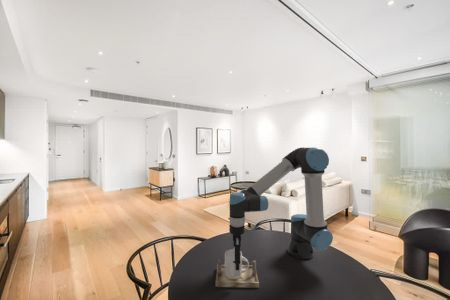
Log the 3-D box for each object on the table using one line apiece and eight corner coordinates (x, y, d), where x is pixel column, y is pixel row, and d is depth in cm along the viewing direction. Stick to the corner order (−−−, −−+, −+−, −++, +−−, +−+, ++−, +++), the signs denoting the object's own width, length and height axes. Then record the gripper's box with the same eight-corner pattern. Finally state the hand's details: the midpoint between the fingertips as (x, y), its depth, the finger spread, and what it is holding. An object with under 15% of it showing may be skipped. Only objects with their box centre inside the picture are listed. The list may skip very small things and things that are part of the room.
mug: (248, 281, 97) (248, 259, 96) (223, 279, 98) (223, 257, 98) (248, 270, 105) (249, 250, 105) (225, 268, 107) (225, 248, 106)
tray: (255, 269, 108) (255, 254, 108) (258, 287, 94) (259, 270, 94) (217, 268, 109) (217, 253, 109) (215, 286, 95) (215, 269, 95)
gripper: (229, 215, 114) (229, 253, 114) (229, 235, 89) (229, 283, 89) (242, 216, 113) (242, 253, 114) (246, 235, 88) (246, 284, 89)
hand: (236, 267), depth 101 cm, fingers open, 13 cm apart
